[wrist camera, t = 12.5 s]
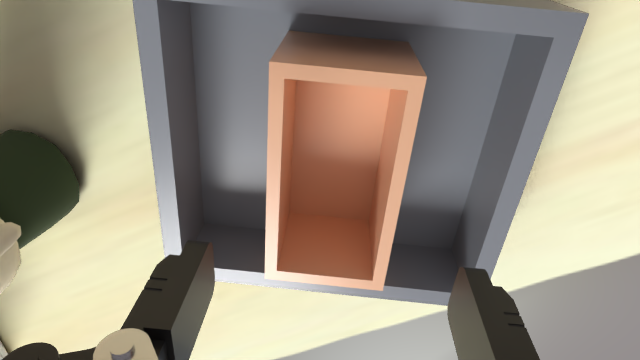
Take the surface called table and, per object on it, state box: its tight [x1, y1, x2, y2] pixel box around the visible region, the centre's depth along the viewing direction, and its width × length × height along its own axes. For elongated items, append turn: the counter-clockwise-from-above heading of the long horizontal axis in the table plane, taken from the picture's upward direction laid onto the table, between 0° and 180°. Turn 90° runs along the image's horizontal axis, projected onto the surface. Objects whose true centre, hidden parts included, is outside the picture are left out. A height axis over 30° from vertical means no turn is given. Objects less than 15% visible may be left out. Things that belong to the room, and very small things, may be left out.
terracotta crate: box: [265, 31, 427, 291], centre depth 22 cm, size 11×6×6 cm, turn 175°
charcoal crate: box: [133, 0, 589, 306], centre depth 23 cm, size 16×18×5 cm
